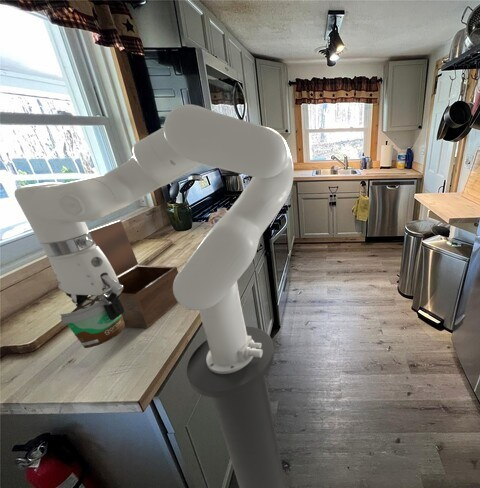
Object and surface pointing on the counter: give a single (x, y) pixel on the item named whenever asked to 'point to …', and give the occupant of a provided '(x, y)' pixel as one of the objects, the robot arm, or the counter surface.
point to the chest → (146, 294)
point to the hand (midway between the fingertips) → (104, 314)
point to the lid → (115, 246)
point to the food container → (93, 322)
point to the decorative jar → (216, 216)
